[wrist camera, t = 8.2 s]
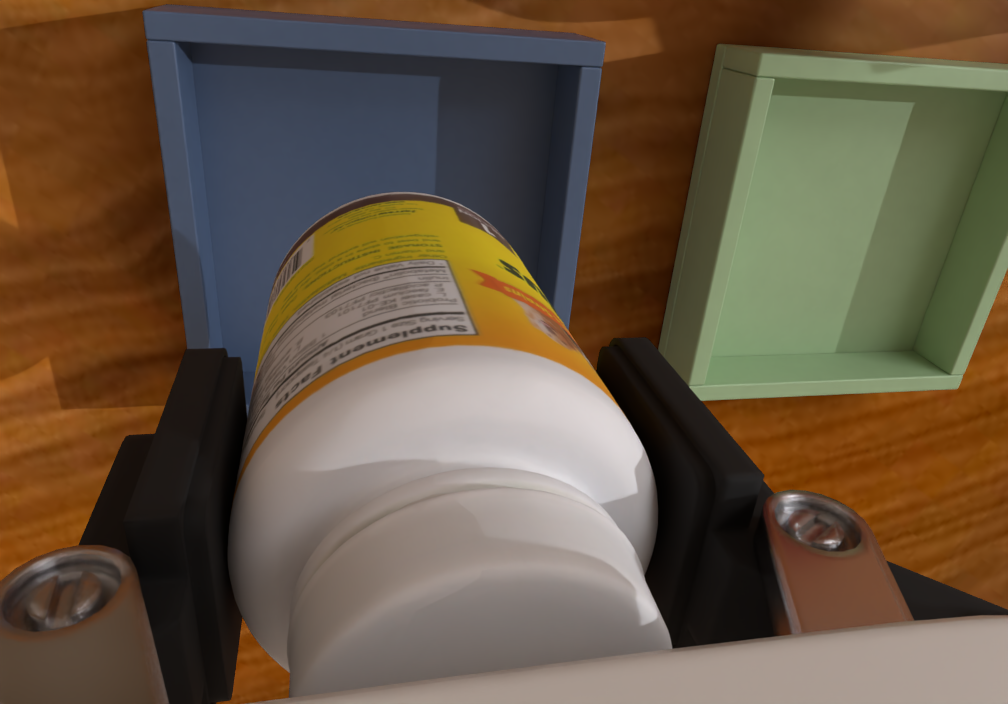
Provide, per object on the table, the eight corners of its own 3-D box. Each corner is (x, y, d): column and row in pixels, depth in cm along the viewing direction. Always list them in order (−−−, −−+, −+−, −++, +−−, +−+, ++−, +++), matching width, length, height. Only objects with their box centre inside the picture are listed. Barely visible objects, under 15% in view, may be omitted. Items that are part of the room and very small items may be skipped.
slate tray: (164, 4, 18) (141, 9, 16) (576, 33, 21) (606, 42, 18) (209, 380, 23) (197, 425, 21) (538, 368, 25) (558, 408, 23)
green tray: (716, 43, 21) (761, 52, 19) (1016, 64, 24) (1088, 75, 22) (654, 364, 26) (684, 402, 24) (909, 356, 29) (958, 389, 26)
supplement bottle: (544, 375, 18) (760, 784, 9) (320, 442, 17) (313, 942, 8) (496, 149, 15) (738, 417, 6) (227, 221, 15) (72, 622, 6)
